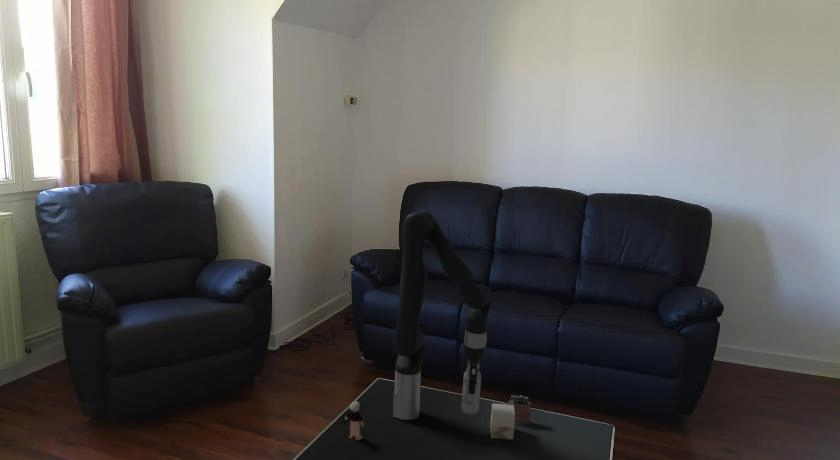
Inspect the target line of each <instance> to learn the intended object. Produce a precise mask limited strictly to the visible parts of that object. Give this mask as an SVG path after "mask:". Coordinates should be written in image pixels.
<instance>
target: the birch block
mask: <svg viewBox="0 0 840 460" xmlns="http://www.w3.org/2000/svg"><path fill="white" fill-rule="evenodd" d="M514 431H515V427H514V428H512V427H499V426H492V417H491V416H490V438H491V439H492V438H493V439H505V440H514V435H515V434H514Z"/></svg>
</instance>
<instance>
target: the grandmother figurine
mask: <svg viewBox="0 0 840 460" xmlns="http://www.w3.org/2000/svg"><path fill="white" fill-rule="evenodd" d="M360 406H361V405H360V402H359V401H353V402H352V403H350V406H349V410H351V411H349V412H347V413H346V414H345V417H344V420H345V421H347V420H348V419H350V422H349V429H350V431H349V433H350V434H349V438H350V439H354V440H356V441H359V440H362V439H363V435H361V427H364V426H365V423H364V419H363V417H362V415H361V413H360V412H359V410H360Z"/></svg>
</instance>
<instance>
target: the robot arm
mask: <svg viewBox="0 0 840 460" xmlns="http://www.w3.org/2000/svg"><path fill="white" fill-rule="evenodd" d="M425 241H426V242H428V243H429V245H431V247H432V248H433V251H434V253H435V254H436V256H437V259H438V260H439V263H440V265H441V267H442V269H443V271H444V272H445V273H446V275H447V276H448V277H449V278H450V280H451V281H452V282H453V283H454V285H456V288H457V290H458V292H459V295H460V296H461V299H462V300H463V302H464V303H465V304H466V305H467V306H468V307H469V308H470V311H469V313H468V314H467V316H466V322H465V323H466V324H465V332H464V336H463V338H464V339H463V351H462V353H463V354H462V355H463V356H464V358H466V359H467V368H468V376H469V390H468V393H469V394H475V386H476V384H477V377H478V369H479V370H480V360H483V359H485V357H486V353H487V351H486V350H487V341H488V340H487V339H488V337H487V328H488V317H489V314H490V310H491V306H492V301H493V296H492V295H493V293H492V291H491V289H490V287H489V286H487V285H486V284H482V283H481V284H476V282H475V281H474V279H473V278H474V273H473V272H472V270H471V269H470V268H469V266H468V265H467V264H466V263H465V261H464V260H463V259H462V258H461V256H460V255H459V254H458V253H457V252H456V249H454V247H453V245H452V244H451V242H449V239H448V238H447V236H446V234H445V233H444V232H443V229H441V227H440V225H439V223H438V222H437V219H435V217H434V215H433V214H432V213H430V212H429V211H426V210H419V211H415V212H411V213H409V214H407V216H406V217H405V218H404V221H403V225H402V243H403V245H402V248H403V249H402V263H401V273H400V283H399V296H398V297H399V298H398V309H397V310H398V313H397V315H398V316H397V322H396V327H395V331H394V337H393V346H394V350H395V351H396V353H397V358H396V361H395V366H394V367H395V369H394V370H395V371H394V391H393V404H392V406H393V408H392V410H393V412H392V413H393V414H392V417H393V418H397V419H399V420H404V421H412V420H415V419H418V418H419V416H420V405H421V404H420V403H421V400H420V399H421V376H422V375H421V374H422V373H421V372H422V364H423V359H424V350H425V349H424V347H425V346H424V345H425V338H424V337H425V336H424V333H423V330H422V329H421V328H420V326H419V325H418V324H419V319H420V315H421V311H422V308H423V305H424V302H425V298H426V293H427V283H428V274H427V273H428V272H427V268H426V265H425V261H424V247H425V245H424V244H425ZM418 326H419V327H418ZM471 379H475V380H471Z"/></svg>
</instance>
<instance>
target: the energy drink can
mask: <svg viewBox="0 0 840 460" xmlns="http://www.w3.org/2000/svg"><path fill="white" fill-rule="evenodd" d="M471 380H475V379H471ZM481 383H482V373H481V370H480V368H479V369H478V377H477V384H476V386H475V394H469V393H468V390H469V376H468V367H467V368H466V369H465V372H464V373H463V381H462V390H461V391H462V394H461V410H462V412H463V413H464V414H465V415H466V414H467V415H475V414H476V413H477V412H478V411H479V410H480V408H479V407H480V396H481V395H480V394H481Z"/></svg>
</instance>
